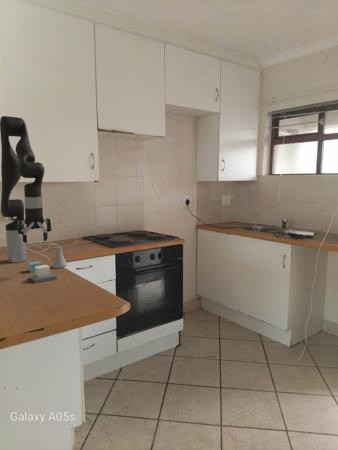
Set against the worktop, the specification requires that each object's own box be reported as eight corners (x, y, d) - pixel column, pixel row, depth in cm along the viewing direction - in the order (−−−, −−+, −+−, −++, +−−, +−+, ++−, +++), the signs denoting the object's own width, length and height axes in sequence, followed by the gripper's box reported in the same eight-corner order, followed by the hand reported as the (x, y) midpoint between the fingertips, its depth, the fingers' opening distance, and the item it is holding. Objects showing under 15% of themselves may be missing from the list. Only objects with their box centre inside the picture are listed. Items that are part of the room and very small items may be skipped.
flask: (52, 265, 167) (51, 246, 165) (67, 264, 169) (66, 245, 168) (52, 269, 160) (51, 249, 159) (67, 267, 162) (66, 248, 161)
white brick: (35, 275, 144) (34, 266, 144) (46, 273, 147) (46, 264, 147) (38, 277, 140) (38, 268, 140) (50, 275, 143) (49, 266, 143)
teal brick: (28, 270, 158) (28, 262, 157) (39, 269, 161) (38, 261, 160) (30, 273, 154) (30, 264, 153) (41, 271, 157) (41, 263, 156)
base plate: (29, 278, 145) (29, 274, 145) (50, 274, 150) (49, 271, 150) (35, 283, 138) (35, 279, 138) (56, 279, 143) (56, 275, 143)
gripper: (47, 205, 155) (48, 238, 158) (14, 206, 147) (16, 242, 149) (52, 206, 149) (53, 241, 152) (18, 208, 141) (20, 245, 144)
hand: (35, 241), depth 151 cm, fingers open, 8 cm apart
